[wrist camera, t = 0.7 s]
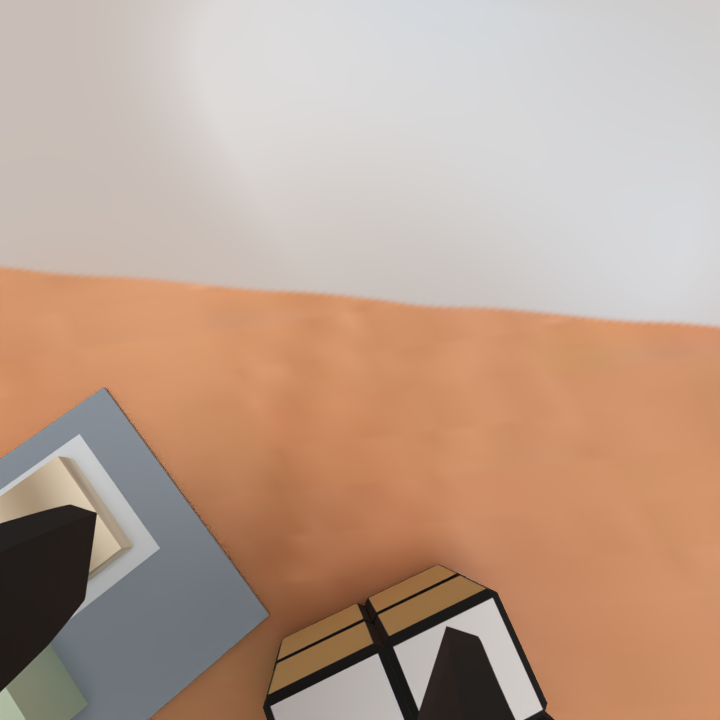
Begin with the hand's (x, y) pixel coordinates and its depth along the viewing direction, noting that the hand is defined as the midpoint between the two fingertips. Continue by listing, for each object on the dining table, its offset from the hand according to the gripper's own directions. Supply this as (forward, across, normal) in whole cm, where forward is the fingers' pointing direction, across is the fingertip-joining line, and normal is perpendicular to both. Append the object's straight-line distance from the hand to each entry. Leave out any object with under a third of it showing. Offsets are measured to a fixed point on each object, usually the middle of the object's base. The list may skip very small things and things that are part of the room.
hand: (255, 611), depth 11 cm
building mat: (+15, +13, +14) cm, 25 cm away
